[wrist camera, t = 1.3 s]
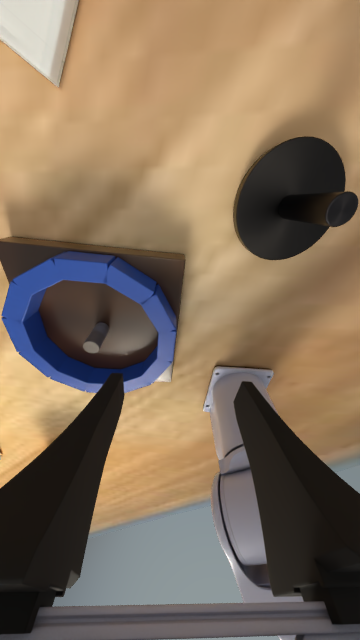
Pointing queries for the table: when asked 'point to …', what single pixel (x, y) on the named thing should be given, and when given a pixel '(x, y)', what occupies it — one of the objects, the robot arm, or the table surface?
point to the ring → (93, 268)
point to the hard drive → (39, 32)
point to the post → (292, 198)
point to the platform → (98, 303)
